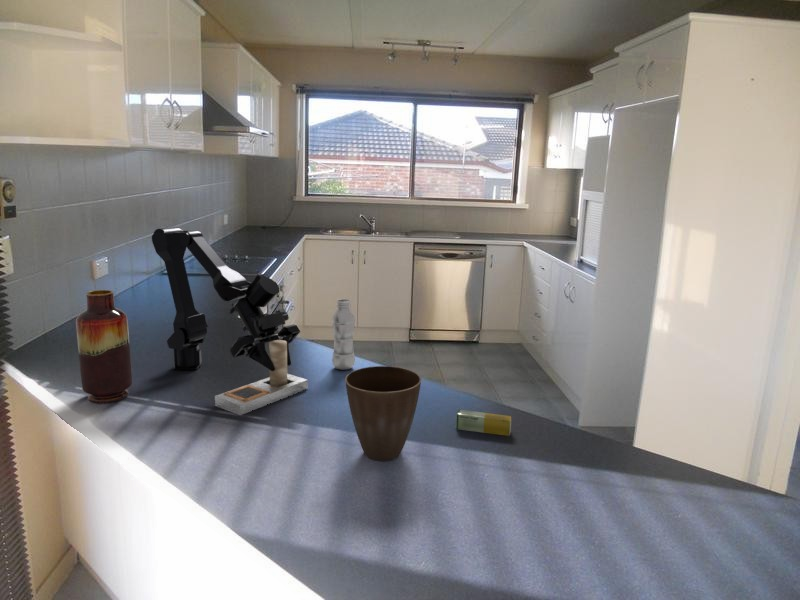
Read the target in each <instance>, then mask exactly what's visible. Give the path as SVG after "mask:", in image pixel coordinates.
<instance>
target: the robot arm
mask: <svg viewBox="0 0 800 600" xmlns="http://www.w3.org/2000/svg"><path fill="white" fill-rule="evenodd" d="M151 242H152V246H153V248H154V250H155V254H157V255H158V256H159V258H161V260H162V262H164V267H165V269H166V273H167V278H168V281H169V282H168V283H169V286H170V291H171V294H172V295H171V296H172V298H173V299H172V300H173V303H174V308H175V312H176V313H175V316H174V320H173V325H172V326H173V333H172V334H171V335H170V336H169V338H168V339H167V340H166V342H167V346H168V349H172V350H173V359H174V366H173V367H172V370H173V371H178V370H179V371H180V370H181V371H183V370H184V371H187V370H190V371H192V370H198V369H199V367H200V366H201V364H202V362H203V360H202V348H200V344H201V345H202V344H203V343H204V340H205V337H206V335H207V333H208V328H209V326H208V324H207V321H206V315H205V313H200V312H199V311H198V310H197V308H195V303H194V298H193V295H192V290H191V286H190V285H191V284H190V281H189V277H188V273H187V268H186V265H185V260H184V257H185V255H186V254H185V253H186V250H188V251H189V252H190V253H191V254H192V255H193V256H194V258H195V259H196V260H197V261H198V263H199V264H200V265H201V267H202V268H203V269H204V270H205V271H206V273H208V275H209V276H210V277H211V279H212V283H213V284H212V285H213V286H212V287H213V288H214V290H215V291H216V293H217V295H218V296H219V298H220V299H221V300H222V301H224V302H231V301H235V300H238V301H236V303H232V304H231V308H230V311H229V315H236V314H237V315H238V317H239V318H240V319H241V322H242V324H243V328H242V330H243V332H244V333H247V332H248V334H247V335H242V336H239V337H237V338H236V340H235V341H234V342H233V343H232V345H231V347H230V354H231V355H232V357H233V359H236V358H240V357H244V355H245V358H249V359H251V360H253V361H255V362H257V363H259V364H260V365H262V366H263V367H264V368H266V369H267V370H269V371H270V370H271V371H274V370H275V367H274V365H273V363H272V361H271V359H270V357H269V354H268V351H266V344H269V342H270V341H273V340H284V341H287V368H288V367H291V365H292V361H291V355H290V354H291V353H290V349H289V347H290V346H289V344H291V343H292V342H293V341H294V340H295V339H296V337H297V336H298V335H299V334H300V333H301V330H300V328H299V326H297V325H296V324H290V325H286V321H288V320H289V318H290V317H289V314H288V312H287V311H286V310H285V308H280V309H278V310H275V313H270V314H269V313H268V312H267V313H264V312H263V310H262V308H265V307H267V306H268V304H270V302H271V301H272V300H273V299H274V298H275V297H276V296H277V295H278V294H279V292H280V286H279V284H278V283H277V281H274V280H273V279H272V278H270V277H268V276H265V274H264V273H259V274H257V275H256V276H255V278H254V279H253V281H252V282H250V281H248V280H247V279H246V278H245V277H244V276H243V275H242V274H241V273H239V272H238V271H236V270H234V269H232V268H230V267H229V266H228V265H227V264H226V263H225V262H224V261H223V260H222V258H221V257H220V256H219V254H218V253H216V251H215V249H214V248H212V247H211V246H210V244H209V243H208V242H207V241H206V239H205V238H204V235H203V233H202V232H201V231H199V230H183V229H181V228H180V227H177V226H176V227H175V226H174V227H173V226H172V227H164V228H157V229H155V230H154V232H153V234H151ZM282 325H285V326H283V327H282V328H281V329H280V331H278V330H279V327H280V326H282ZM277 331H278V332H277ZM275 332H277V333H275ZM245 350H246V351H245ZM245 353H246V354H245Z"/></svg>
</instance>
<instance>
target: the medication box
mask: <svg viewBox="0 0 800 600" xmlns="http://www.w3.org/2000/svg"><path fill="white" fill-rule="evenodd" d="M455 423H456V424H455V430H460V431H461V430H462V431H468V432H477V433H483V434H491V435H501V436H506V437H510V436H511V428H512V416H510V415H504V414H503V415H502V414H495V413H488V412H480V411H475V410H466V409H465V410H463V409H458V410H457V412H456V421H455Z"/></svg>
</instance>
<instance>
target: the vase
mask: <svg viewBox="0 0 800 600" xmlns="http://www.w3.org/2000/svg"><path fill="white" fill-rule="evenodd" d="M85 297H86V299H85V300H86V309H85V310H84V311H81V312H80V313H79V314H78V316H77V317H76V319H75V325H76V326H75V328H76V339H77V349H78V360H79V370H80V379H81V387H82V388H81V389H82V391H83V392H84V393H86V394H88V396H87V400H88V401H89V402H90V403H94V404H110V403H115V402H118V401H119V402H120V401H121V400H124V399H126V398H127V397H128V396H129V395H130V394H129V390H128V389H129V388H130V387H132V384H133V379H132V378H133V375H132V373H133V372H132V360H131V347H130V335H129V322H128V315H127V314H126V313H125V312H124V311H123V310H122V309H120V308H117V307H116V305H115V297H114V291H113V290H110V289H98V290H91V291H88V292H86V293H85ZM125 397H126V398H125Z"/></svg>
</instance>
